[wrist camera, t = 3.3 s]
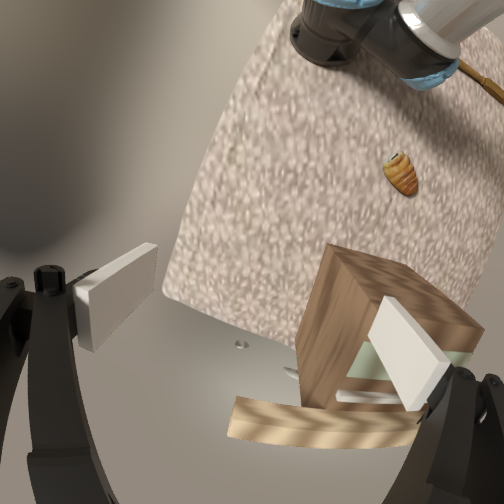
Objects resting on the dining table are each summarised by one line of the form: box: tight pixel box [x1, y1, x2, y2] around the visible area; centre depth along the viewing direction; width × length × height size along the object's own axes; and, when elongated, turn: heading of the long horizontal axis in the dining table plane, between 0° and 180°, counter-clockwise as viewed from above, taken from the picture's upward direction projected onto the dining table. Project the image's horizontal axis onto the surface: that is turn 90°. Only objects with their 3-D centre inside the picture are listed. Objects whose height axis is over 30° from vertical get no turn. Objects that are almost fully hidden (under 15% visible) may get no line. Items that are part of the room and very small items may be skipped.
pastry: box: [383, 151, 418, 195], centre depth 48 cm, size 9×7×4 cm
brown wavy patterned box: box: [295, 243, 485, 412], centre depth 43 cm, size 20×24×31 cm
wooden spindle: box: [458, 58, 504, 103], centre depth 38 cm, size 3×3×30 cm
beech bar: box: [227, 396, 425, 449], centre depth 29 cm, size 32×4×4 cm, turn 77°
